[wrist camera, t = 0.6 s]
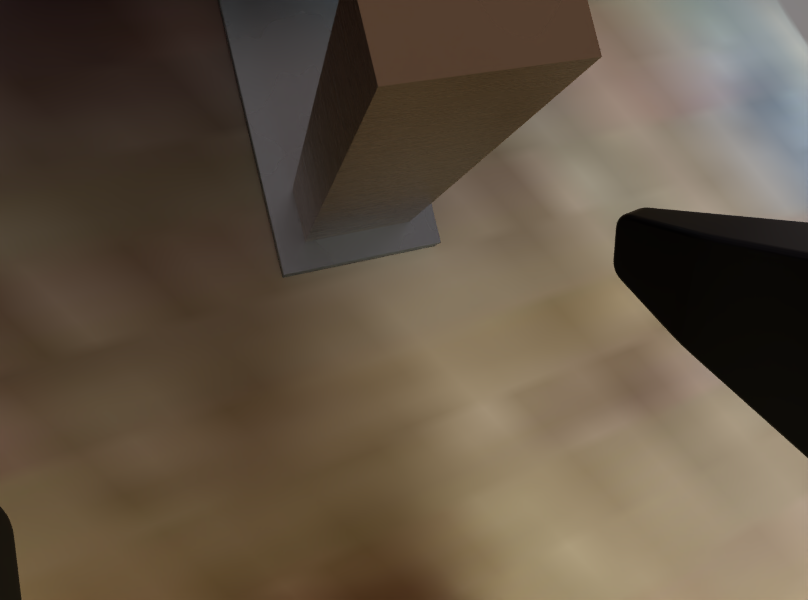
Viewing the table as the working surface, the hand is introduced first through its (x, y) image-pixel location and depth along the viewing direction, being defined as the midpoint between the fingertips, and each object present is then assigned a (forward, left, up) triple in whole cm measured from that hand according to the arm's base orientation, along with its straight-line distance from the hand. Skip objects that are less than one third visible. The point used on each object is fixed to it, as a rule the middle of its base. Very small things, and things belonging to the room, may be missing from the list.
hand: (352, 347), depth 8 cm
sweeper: (+6, -9, -15) cm, 18 cm away
